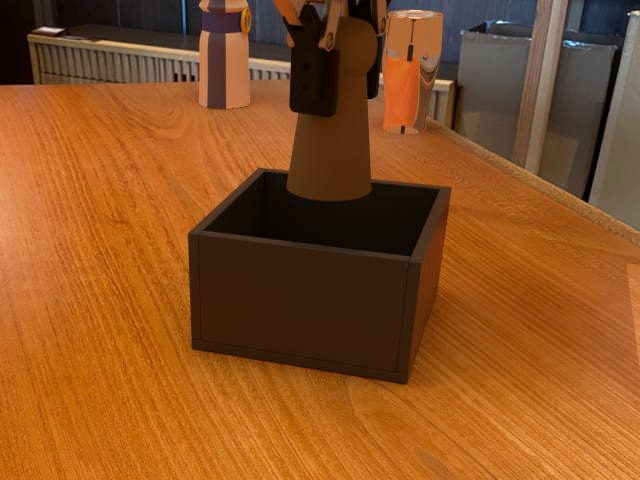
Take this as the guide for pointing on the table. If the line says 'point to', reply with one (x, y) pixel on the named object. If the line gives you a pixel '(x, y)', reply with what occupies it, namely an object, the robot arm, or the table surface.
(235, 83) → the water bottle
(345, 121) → the cork
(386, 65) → the beer glass
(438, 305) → the table surface
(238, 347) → the bin
